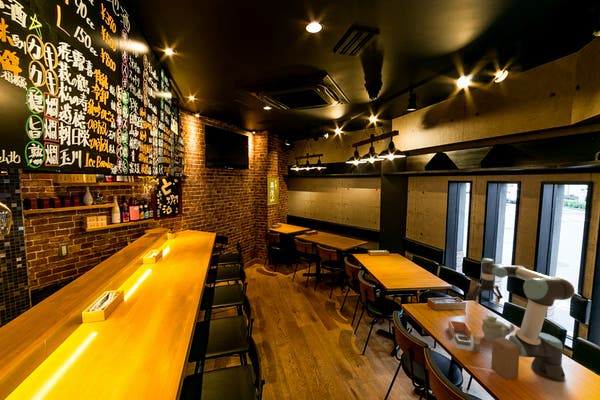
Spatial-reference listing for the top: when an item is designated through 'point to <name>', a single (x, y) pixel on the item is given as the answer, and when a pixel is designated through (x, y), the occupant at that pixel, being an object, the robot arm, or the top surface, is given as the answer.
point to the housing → (459, 328)
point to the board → (459, 345)
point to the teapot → (495, 328)
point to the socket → (462, 340)
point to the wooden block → (505, 357)
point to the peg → (476, 342)
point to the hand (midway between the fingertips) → (486, 305)
